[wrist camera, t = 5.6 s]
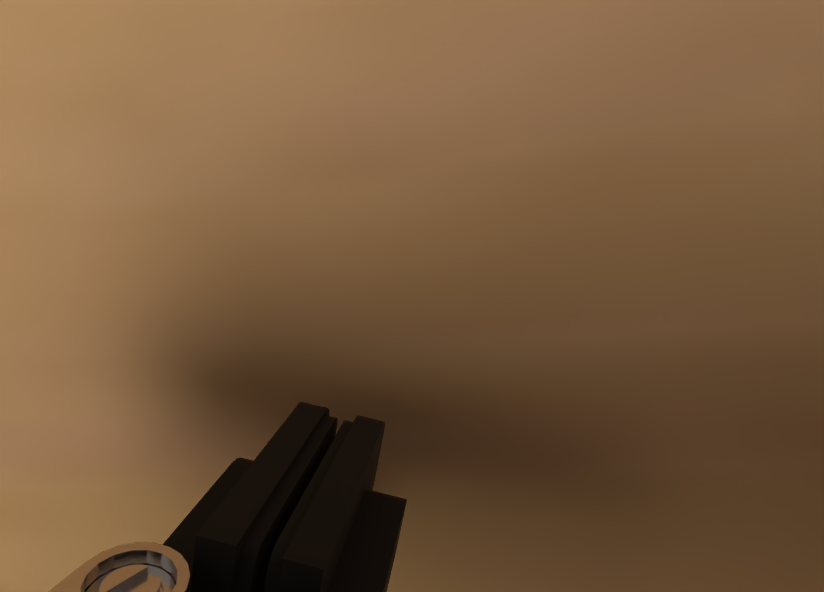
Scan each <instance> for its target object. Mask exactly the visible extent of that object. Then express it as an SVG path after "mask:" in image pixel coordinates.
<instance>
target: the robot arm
mask: <svg viewBox="0 0 824 592" xmlns="http://www.w3.org/2000/svg"><path fill="white" fill-rule="evenodd" d="M384 427H385V422H383V421H379V420H374V419H370V418H366V417H362V416H357V417H356V418H355V420H354V422H351V421H346V420H345V421H344V422H343V424H342V426H341V427H340V429H339V431H338V433H337V434H336V428H337V418H334V417H330V416H329V409H328V408H325V407H320V406H316V405H312V404H308V403H304V402H300V403H299V404H298V405H297V407H296V408H295V409H294V410H293V412H292V413H291V414H290V415H289V417H288V418H287V419H286V421H285V422H284V423H283V424H282V426H281V427H280V428H279V430H278V431H277V432H276V433H275V435H274V436H273V437H272V438H271V440H270V441H269V442H268V444H267V445H266V446H265V447H264V449H263V450H262V451H261V452H260V454H259V455H258V456H257V458H256V459H255V460H254V461H252V460H248V459H244V458H237V459H236V460H235V461H234V462H233V463H232V464H231V465H230V466H229V467H228V468H227V469H226V471H225V472H224V473H223V474H222V475H221V477H220V478H219V479H218V480H217V481H216V482H215V484H214V485H213V486H212V487H211V488H210V489H209V491H208V492H207V493H206V494H205V495H204V497H203V498H202V499H201V500H200V501H199V502H198V504H197V505H196V506H195V507H194V508H193V509H192V511H191V512H190V513H189V514H188V515H187V517H186V518H185V519H184V520H183V521H182V522H181V524H180V525H179V526H178V527H177V528H176V529H175V531H174V532H173V533H172V534H171V535H170V537H169V538H168V539H167V540H166V541H165V542H164V544H163V545H161V544H157V543H147V542H136V543H130V544H124V545H119V546H116V547H114V548H111V549H108V550H106V551H103V552H101V553H99V554H98V555H96V556H94V557H93V558H91V559H90V560H88V561H86V562H85V563H84V564H83V565H81V566H80V567H79V568H77V569H76V570H75V571H74V572H72V573H71V574H70V575H69V576H67V577H66V578H65V579H63V580H62V581H61V582H60V583H58V584H57V585H56V586H55V587H53V588H52V589H51V590H49V591H48V592H386V591H387V587H388V583H389V579H390V575H391V570H392V566H393V562H394V557H395V553H396V548H397V544H398V539H399V535H400V530H401V525H402V520H403V516H404V511H405V506H406V501H407V500H406V499H402V498H399V497H395V496H391V495H387V494H383V493H379V492H375V491H372V490H373V485H374V479H375V474H376V469H377V464H378V459H379V453H380V448H381V443H382V438H383V433H384ZM335 434H336V436H335Z"/></svg>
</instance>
